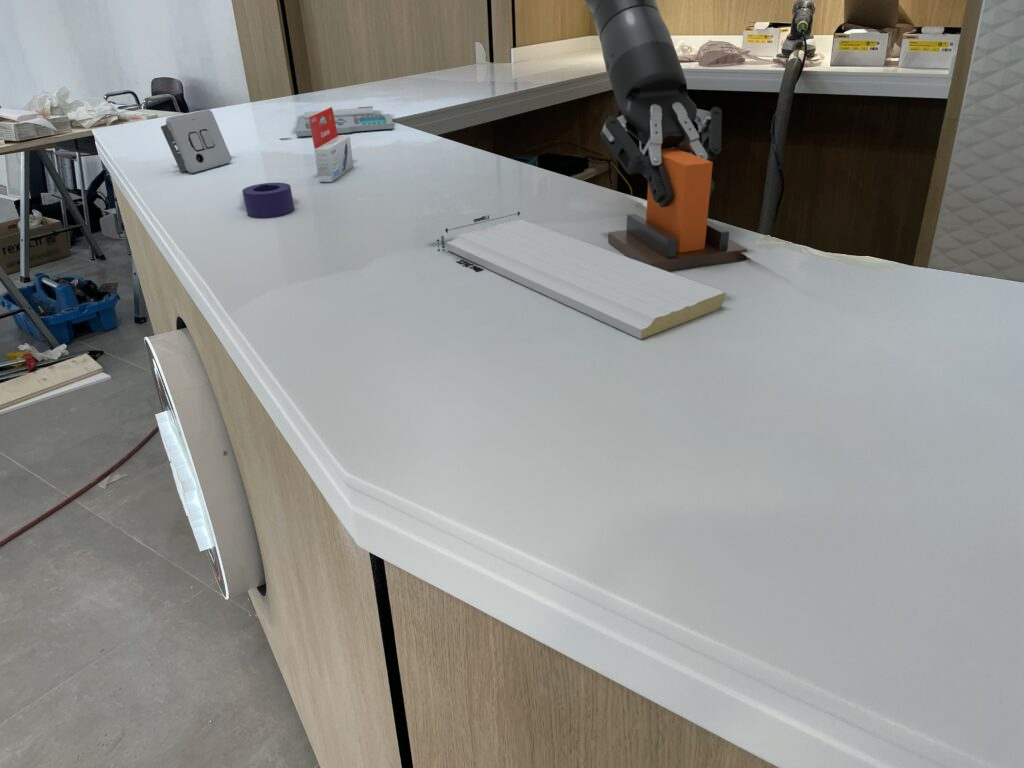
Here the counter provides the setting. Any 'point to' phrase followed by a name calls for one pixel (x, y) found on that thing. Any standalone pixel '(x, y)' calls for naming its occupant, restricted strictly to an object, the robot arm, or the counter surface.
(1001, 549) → the counter surface
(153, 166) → the counter surface
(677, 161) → the orange rectangular block
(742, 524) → the counter surface
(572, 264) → the baseboard molding
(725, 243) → the brown slotted base
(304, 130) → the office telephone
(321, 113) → the ink cartridge box
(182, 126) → the electrical switch
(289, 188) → the purple donut ring
